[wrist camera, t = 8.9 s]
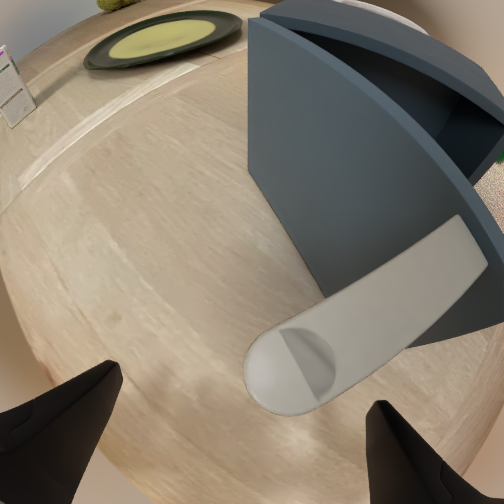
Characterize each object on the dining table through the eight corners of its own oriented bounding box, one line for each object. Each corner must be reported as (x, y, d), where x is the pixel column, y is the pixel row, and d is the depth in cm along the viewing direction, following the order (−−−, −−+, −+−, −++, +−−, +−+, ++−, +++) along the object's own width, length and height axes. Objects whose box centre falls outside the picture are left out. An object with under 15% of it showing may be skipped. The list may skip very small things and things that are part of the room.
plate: (259, 20, 38) (259, 10, 36) (207, 76, 27) (205, 60, 25) (140, 25, 41) (138, 17, 38) (58, 89, 30) (53, 78, 27)
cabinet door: (268, 408, 14) (319, 512, 3) (171, 200, 19) (117, 50, 8) (368, 350, 15) (533, 297, 4) (256, 167, 21) (262, 16, 9)
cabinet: (430, 230, 19) (522, 127, 7) (255, 164, 21) (259, 12, 9) (427, 159, 22) (482, 67, 11) (286, 106, 24) (299, -7, 13)
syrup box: (37, 107, 28) (5, 44, 15) (10, 130, 26) (-26, 70, 13) (34, 99, 29) (6, 42, 16) (10, 120, 28) (-22, 65, 14)
